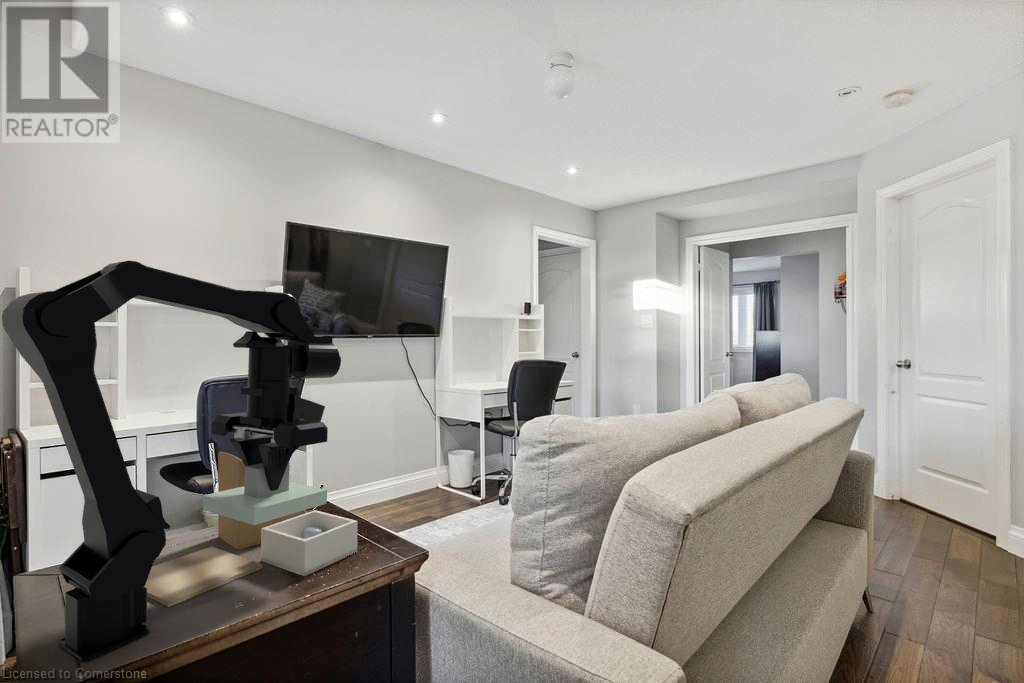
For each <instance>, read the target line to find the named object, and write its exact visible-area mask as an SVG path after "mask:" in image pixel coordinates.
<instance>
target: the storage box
mask: <svg viewBox="0 0 1024 683" xmlns="http://www.w3.org/2000/svg"><path fill="white" fill-rule="evenodd" d="M355 552H356V553H358V520H355V519H351V518H347V517H343V516H340V515H335V514H331V513H328V512H324V511H319V510H312V511H309V512H307V513H306V514H303V515H300V516H297V517H294V518H291V519H288V520H285V521H282V522H279V523H276V524H273V525H270V526H267V527H264V528H261V544H260V561H261V562H263V563H266V564H268V565H272V566H274V567H277V568H280V569H283V570H285V571H289V572H291V573H294V574H297V575H300V576H301V577H306V576H308V575H311V574H313V573H316V572H317V571H320V570H321V569H324V568H326V567H328V566H330V565H332V564H335V563H337V562H339V561H341V560H343V559H345V558H347V556H348V557H349V555H350V556H352V555H354V554H356V553H355ZM353 553H354V554H353Z"/></svg>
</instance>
